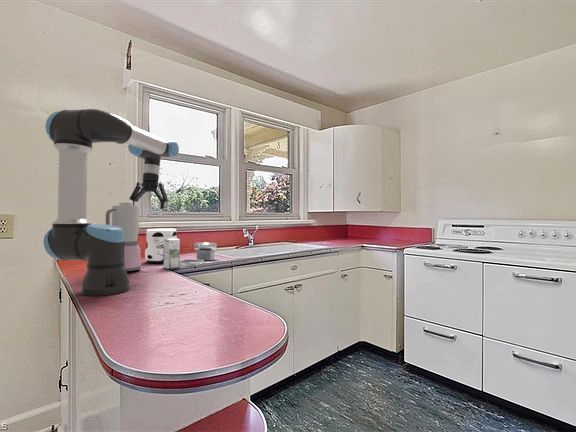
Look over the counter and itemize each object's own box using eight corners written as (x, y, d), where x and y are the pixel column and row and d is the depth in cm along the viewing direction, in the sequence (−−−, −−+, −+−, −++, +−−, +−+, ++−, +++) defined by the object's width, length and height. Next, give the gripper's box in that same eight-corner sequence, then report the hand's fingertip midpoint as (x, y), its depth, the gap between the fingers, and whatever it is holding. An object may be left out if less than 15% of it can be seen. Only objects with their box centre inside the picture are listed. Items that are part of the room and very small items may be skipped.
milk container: (168, 264, 166) (168, 230, 166) (137, 264, 169) (137, 230, 169) (184, 259, 184) (183, 228, 183) (156, 259, 186) (156, 228, 186)
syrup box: (173, 266, 162) (173, 237, 162) (180, 267, 158) (179, 238, 158) (163, 267, 158) (162, 238, 157) (169, 269, 154) (169, 239, 154)
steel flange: (196, 266, 162) (196, 263, 162) (174, 265, 163) (174, 262, 163) (205, 262, 174) (205, 259, 174) (184, 262, 175) (184, 259, 175)
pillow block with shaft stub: (214, 261, 178) (213, 243, 178) (193, 260, 180) (193, 243, 179) (217, 259, 184) (217, 242, 184) (197, 259, 186) (197, 242, 185)
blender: (129, 268, 157) (129, 203, 156) (146, 270, 151) (146, 202, 150) (98, 273, 143) (97, 202, 142) (115, 276, 137) (114, 202, 136)
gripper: (177, 175, 165) (173, 216, 164) (133, 174, 169) (130, 214, 168) (169, 172, 158) (166, 215, 156) (124, 171, 162) (120, 213, 160)
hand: (147, 214), depth 162 cm, fingers open, 13 cm apart
